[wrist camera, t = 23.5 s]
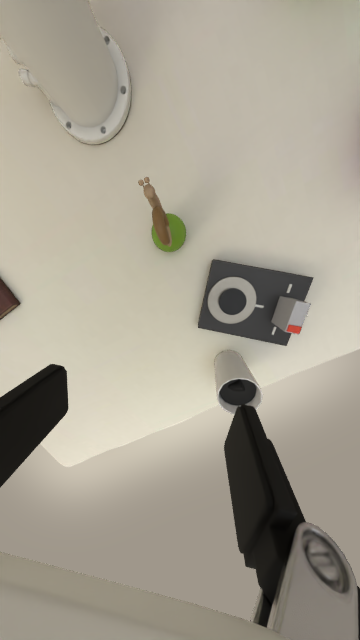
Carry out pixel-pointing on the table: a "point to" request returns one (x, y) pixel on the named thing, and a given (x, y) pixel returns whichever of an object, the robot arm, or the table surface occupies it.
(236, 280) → the burner
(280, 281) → the hob
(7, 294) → the notebook
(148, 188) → the snail figurine
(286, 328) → the hob knob
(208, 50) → the table surface
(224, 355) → the white cup
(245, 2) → the table surface
